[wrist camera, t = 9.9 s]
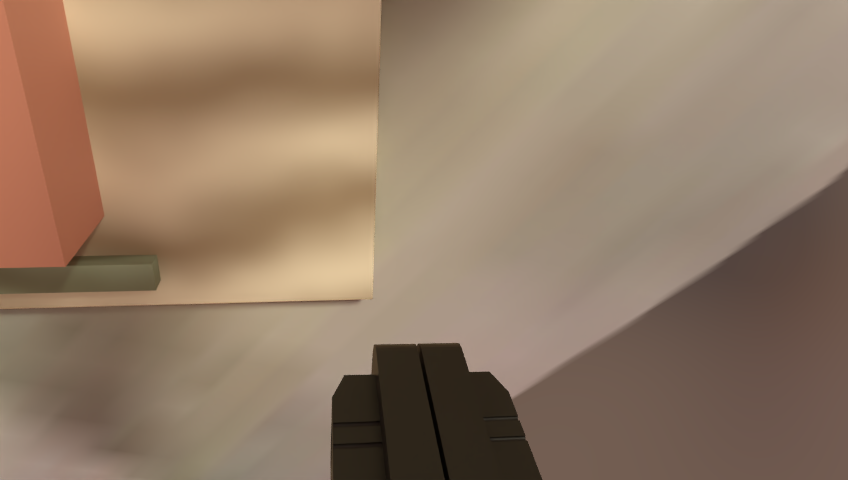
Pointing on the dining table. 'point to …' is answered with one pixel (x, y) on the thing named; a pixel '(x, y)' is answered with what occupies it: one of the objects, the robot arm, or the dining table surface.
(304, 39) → the board
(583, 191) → the dining table surface
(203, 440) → the dining table surface
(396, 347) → the robot arm
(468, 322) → the dining table surface
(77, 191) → the t block
